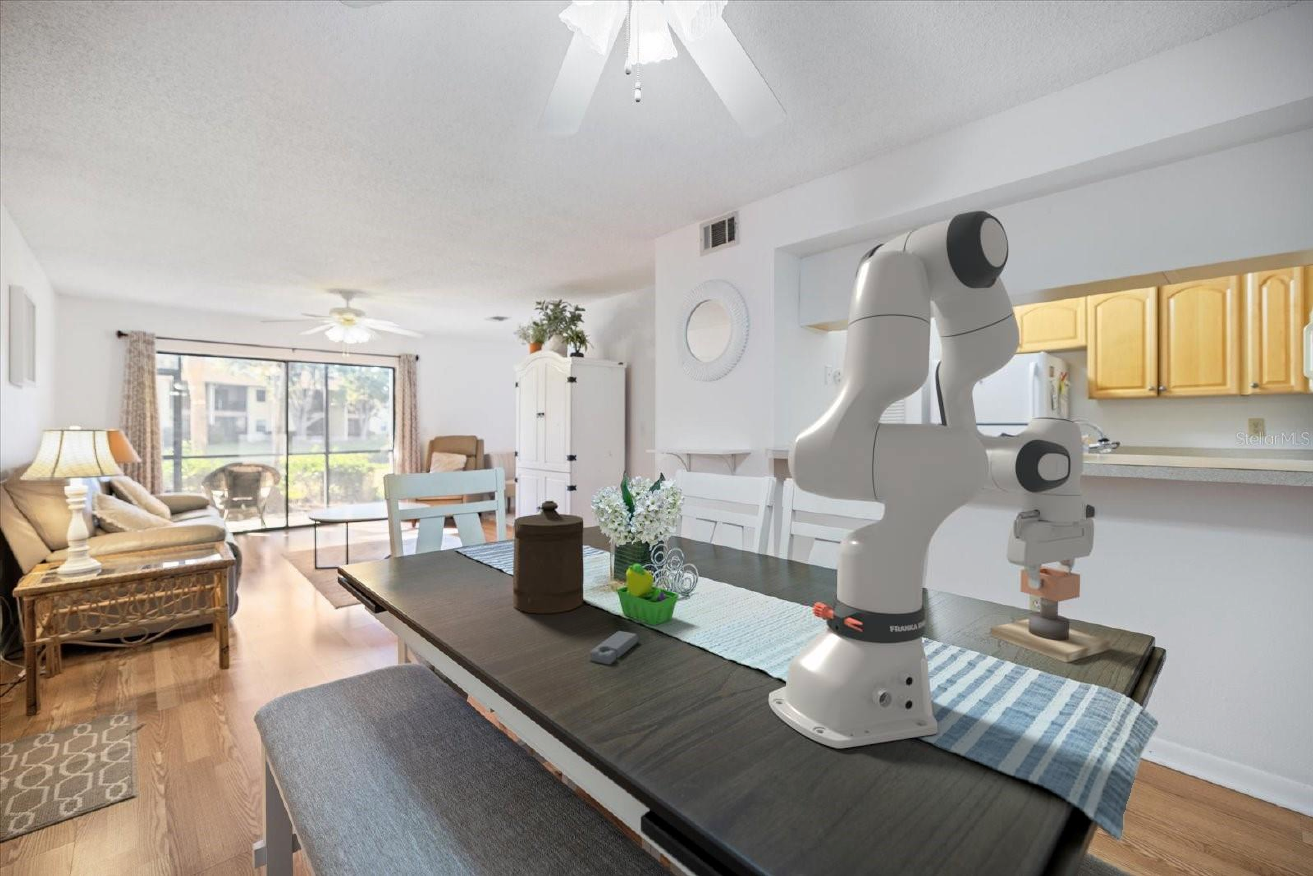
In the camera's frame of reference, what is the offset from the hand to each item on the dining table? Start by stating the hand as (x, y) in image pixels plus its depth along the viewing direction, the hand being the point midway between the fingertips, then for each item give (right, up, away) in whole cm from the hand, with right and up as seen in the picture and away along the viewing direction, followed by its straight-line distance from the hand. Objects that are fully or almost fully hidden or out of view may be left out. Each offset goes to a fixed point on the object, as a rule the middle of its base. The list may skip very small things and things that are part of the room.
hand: (1049, 585), depth 102 cm
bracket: (-78, -10, -5) cm, 79 cm away
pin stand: (0, -10, 0) cm, 10 cm away
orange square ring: (0, -2, 0) cm, 2 cm away
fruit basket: (-73, -10, +11) cm, 74 cm away
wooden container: (-94, -9, +20) cm, 96 cm away
